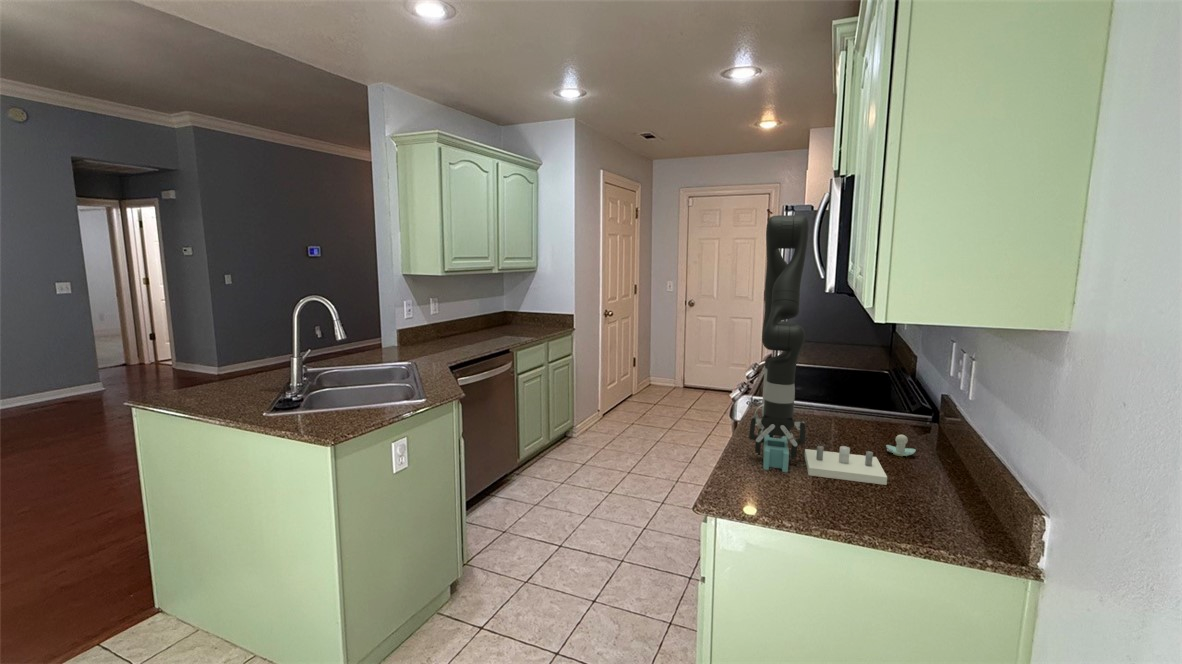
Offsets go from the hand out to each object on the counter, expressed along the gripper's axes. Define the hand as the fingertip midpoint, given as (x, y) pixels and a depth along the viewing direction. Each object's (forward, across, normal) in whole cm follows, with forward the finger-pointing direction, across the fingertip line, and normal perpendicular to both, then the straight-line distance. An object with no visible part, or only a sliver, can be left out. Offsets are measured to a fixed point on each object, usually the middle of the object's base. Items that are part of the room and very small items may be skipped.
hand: (775, 456), depth 150 cm
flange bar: (+1, 0, 0) cm, 1 cm away
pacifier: (+2, -34, -18) cm, 39 cm away
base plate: (+1, -17, 0) cm, 17 cm away
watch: (+2, +2, -17) cm, 17 cm away
